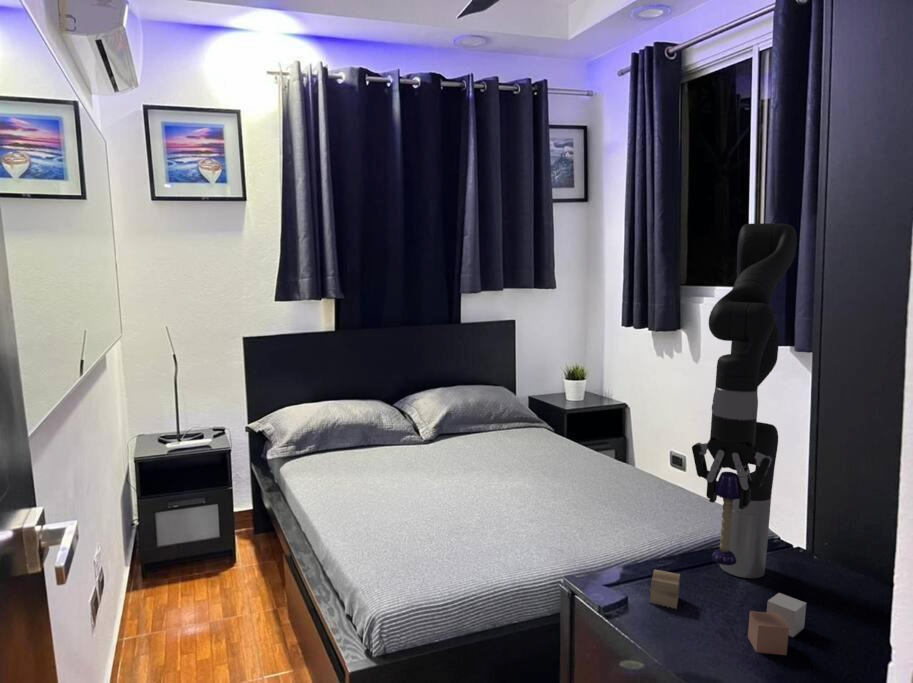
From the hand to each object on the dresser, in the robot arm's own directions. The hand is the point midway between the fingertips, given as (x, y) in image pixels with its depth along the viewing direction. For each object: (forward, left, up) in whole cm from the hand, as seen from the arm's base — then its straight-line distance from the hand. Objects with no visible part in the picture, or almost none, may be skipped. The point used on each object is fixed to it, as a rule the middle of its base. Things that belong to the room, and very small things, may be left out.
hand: (727, 504), depth 125 cm
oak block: (-2, -11, -23) cm, 26 cm away
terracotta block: (+2, +9, -23) cm, 25 cm away
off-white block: (-7, +10, -23) cm, 26 cm away
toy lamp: (0, 0, -11) cm, 11 cm away
